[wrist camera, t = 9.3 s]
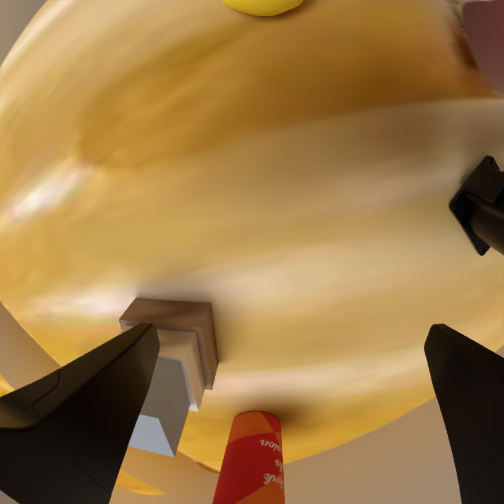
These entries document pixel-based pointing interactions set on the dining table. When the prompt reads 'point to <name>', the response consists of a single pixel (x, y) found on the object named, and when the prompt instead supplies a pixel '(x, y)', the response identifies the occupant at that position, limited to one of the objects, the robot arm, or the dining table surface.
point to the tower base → (179, 321)
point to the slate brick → (163, 410)
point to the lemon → (262, 6)
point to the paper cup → (252, 462)
